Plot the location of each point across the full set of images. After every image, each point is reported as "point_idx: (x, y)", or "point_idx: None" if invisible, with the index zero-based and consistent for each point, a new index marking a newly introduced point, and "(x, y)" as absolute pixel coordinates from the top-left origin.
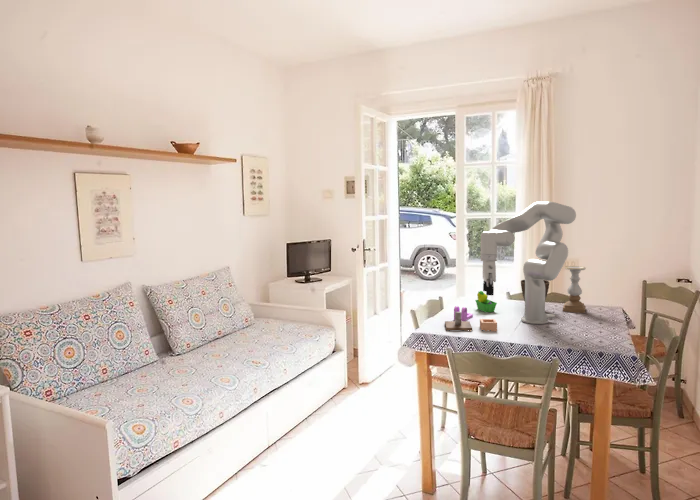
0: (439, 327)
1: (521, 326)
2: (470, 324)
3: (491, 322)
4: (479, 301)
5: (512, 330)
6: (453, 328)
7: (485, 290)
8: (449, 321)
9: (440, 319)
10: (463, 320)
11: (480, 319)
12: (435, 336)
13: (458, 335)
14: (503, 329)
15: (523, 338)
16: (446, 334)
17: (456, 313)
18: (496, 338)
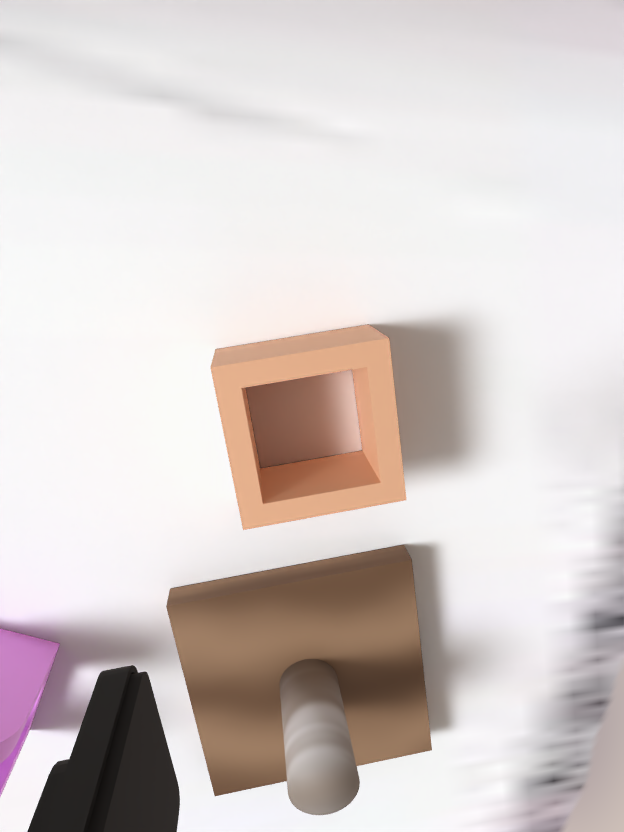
0: None
1: (103, 20)
2: (285, 585)
3: (383, 401)
4: None
5: (313, 155)
6: (425, 698)
7: (169, 773)
8: (212, 762)
9: None
10: (55, 653)
11: (267, 522)
12: (582, 769)
13: (546, 632)
14: (290, 255)
15: (608, 56)
16: (525, 713)
17: (352, 793)
18: (617, 332)
